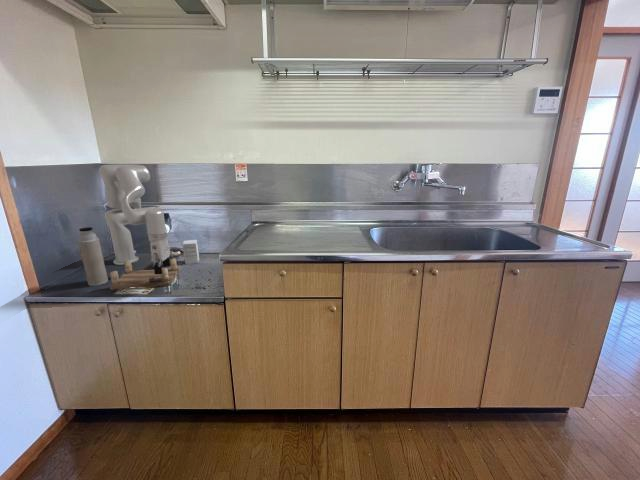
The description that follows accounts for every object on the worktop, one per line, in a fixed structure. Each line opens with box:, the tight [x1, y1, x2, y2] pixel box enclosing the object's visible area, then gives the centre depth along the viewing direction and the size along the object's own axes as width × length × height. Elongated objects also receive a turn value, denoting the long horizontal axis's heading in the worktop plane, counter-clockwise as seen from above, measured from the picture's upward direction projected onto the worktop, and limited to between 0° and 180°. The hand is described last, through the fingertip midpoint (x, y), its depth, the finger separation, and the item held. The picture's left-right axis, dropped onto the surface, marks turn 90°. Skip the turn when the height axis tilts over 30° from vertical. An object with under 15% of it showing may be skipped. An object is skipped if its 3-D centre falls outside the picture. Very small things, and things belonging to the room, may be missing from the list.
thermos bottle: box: [77, 226, 109, 287], centre depth 138 cm, size 8×8×28 cm
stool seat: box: [109, 258, 181, 291], centre depth 144 cm, size 18×26×8 cm
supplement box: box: [182, 239, 200, 265], centre depth 168 cm, size 7×7×13 cm
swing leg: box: [149, 267, 169, 282], centre depth 138 cm, size 9×3×6 cm, turn 100°
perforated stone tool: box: [157, 249, 174, 267], centre depth 165 cm, size 15×5×7 cm, turn 170°
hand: (162, 269), depth 137 cm, fingers open, 9 cm apart
